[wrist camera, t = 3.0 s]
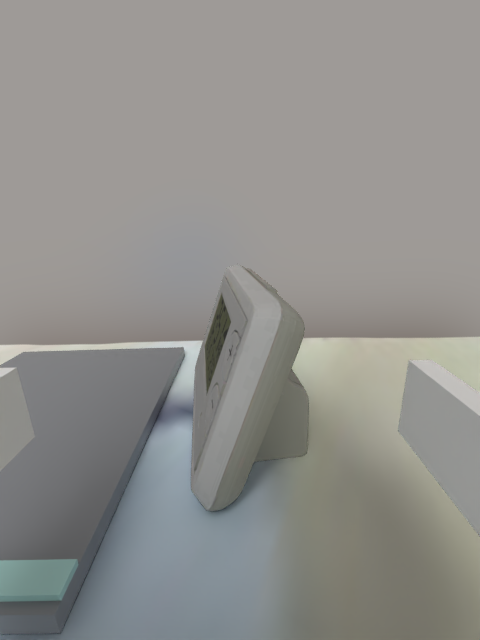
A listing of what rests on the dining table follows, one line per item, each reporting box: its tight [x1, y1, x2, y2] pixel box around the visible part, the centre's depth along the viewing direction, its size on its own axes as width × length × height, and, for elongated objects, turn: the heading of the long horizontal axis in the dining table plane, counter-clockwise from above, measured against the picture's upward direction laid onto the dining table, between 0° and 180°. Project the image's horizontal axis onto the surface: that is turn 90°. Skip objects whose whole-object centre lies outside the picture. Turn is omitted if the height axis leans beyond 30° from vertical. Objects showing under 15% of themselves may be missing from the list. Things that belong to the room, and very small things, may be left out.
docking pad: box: [0, 347, 184, 634], centre depth 22 cm, size 18×24×1 cm
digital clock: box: [191, 265, 309, 511], centre depth 21 cm, size 16×9×11 cm, turn 176°
